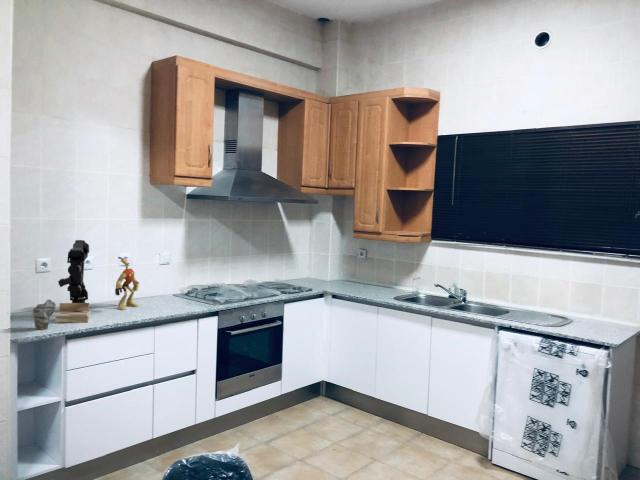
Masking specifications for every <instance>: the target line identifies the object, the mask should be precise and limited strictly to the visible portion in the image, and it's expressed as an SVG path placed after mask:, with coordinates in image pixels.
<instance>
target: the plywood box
mask: <svg viewBox="0 0 640 480" xmlns="http://www.w3.org/2000/svg"><path fill="white" fill-rule="evenodd" d="M90 313H91V312H90V311H80V312H75V311H59V312H57V314H56V315H55V321H54V324H81V323H83V324H85V323H89V321H90V317H91V316H90Z"/></svg>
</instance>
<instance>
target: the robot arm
mask: <svg viewBox="0 0 640 480" xmlns="http://www.w3.org/2000/svg"><path fill="white" fill-rule="evenodd" d="M89 253H90V245H89V244H88V243H87V242H86V241H85V240H84V239H76V240H75V241H74V243H73V244H72V248H70V249H69V251H68V252H67V262H66V263H67V264H69V266H68V268H67V272H68V274H69V275H68V277H66V278H61V279H59V280H58V281H57V282H58V285H59V287H60V288H62V287H64V286H66V285H68V287H67V289H66V290H67V292H69V301H71V303H86V301H87V300H89V292H88V290H87V289H86V288H87V287H86V285H85V283H84V275H85V274H84V273H85V272H84V271H85V261H86V259H87V258H88V256H89ZM74 312H81V311H74Z"/></svg>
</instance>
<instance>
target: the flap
mask: <svg viewBox="0 0 640 480" xmlns="http://www.w3.org/2000/svg"><path fill="white" fill-rule="evenodd" d="M89 309H90V302H85V303H72V302H64V303H63V302H60V303H59V310H58V311H59V312H75V311H80V312H90V311H89Z"/></svg>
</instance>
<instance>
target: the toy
mask: <svg viewBox="0 0 640 480" xmlns="http://www.w3.org/2000/svg"><path fill="white" fill-rule="evenodd" d="M117 259H118V260H119V259H120V262H121V263H122V264H123V265H124V266H125V269H124V270H123V271H122V272H121V273H120V276H119V277H118V278H117V281H116V283H115V289H114V290H115V291H114V293H115V296H120V294H122V292H123V293H124V295H123V296H122V298H121V299H120V300H119V302H118V305H117V308H118V310H120V311H122V310H123V311H124V310H127V307H134V308H135V307H140V305H139V304H137V303H135V302H134V301H133V298H134V295H135V292H137V291H139V287H140V282H139V281H138V280H137V279H136V277H135V275H136V272H135V271H134V269H133V268H129V265H130V263H129V262H128V260H127V259H126V257H121V256H118V257H117ZM122 282H123V284H122ZM130 284H132V285H133V287H131V286H130ZM128 291H129V292H130V294H129V295H128ZM127 296H128V297H127ZM125 302H126V303H125Z"/></svg>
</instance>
